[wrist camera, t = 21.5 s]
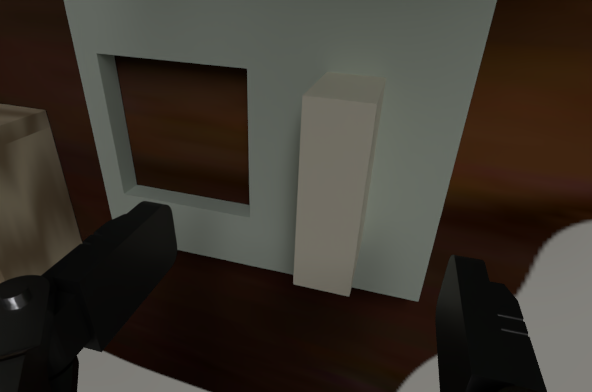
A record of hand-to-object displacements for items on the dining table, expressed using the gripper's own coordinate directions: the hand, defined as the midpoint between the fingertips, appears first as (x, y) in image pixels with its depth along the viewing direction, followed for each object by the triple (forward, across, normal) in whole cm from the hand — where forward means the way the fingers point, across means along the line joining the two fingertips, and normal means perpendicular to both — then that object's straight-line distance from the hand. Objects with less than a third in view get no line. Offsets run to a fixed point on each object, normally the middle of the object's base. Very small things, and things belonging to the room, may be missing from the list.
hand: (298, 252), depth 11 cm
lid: (+9, +4, +1) cm, 10 cm away
